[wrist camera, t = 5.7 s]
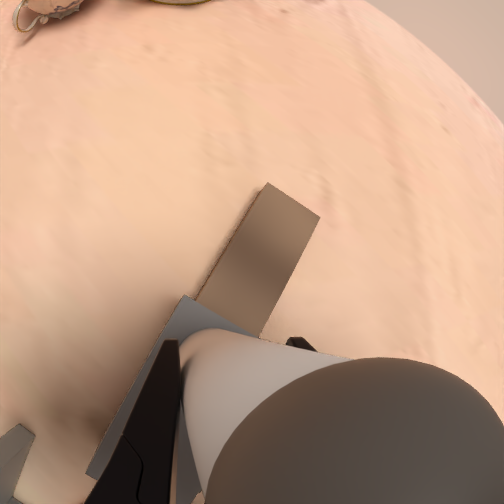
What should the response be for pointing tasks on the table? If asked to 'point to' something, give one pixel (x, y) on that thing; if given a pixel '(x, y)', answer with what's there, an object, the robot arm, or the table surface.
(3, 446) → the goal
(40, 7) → the chinaware
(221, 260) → the rail
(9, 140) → the table surface
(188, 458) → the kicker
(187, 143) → the table surface
